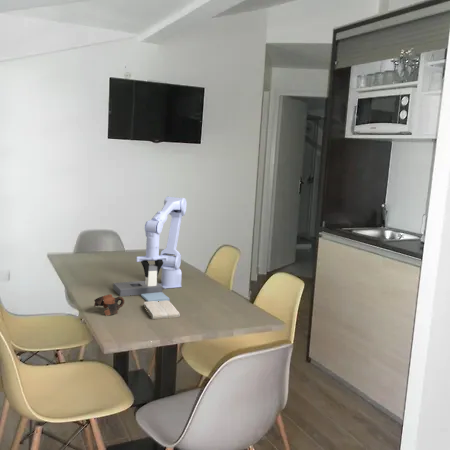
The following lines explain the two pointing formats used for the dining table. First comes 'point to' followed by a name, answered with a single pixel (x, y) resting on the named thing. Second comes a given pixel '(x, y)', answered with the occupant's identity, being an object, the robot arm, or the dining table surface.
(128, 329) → the dining table surface
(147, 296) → the pad
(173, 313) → the washcloth
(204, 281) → the dining table surface
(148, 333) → the dining table surface
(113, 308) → the broken clay pot
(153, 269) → the plug
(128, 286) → the gray socket board
